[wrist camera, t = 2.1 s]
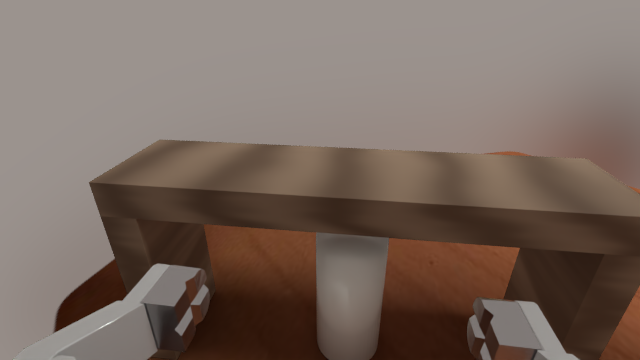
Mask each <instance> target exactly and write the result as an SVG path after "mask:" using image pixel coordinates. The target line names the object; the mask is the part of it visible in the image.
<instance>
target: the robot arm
mask: <svg viewBox="0 0 640 360" xmlns="http://www.w3.org/2000/svg"><path fill="white" fill-rule="evenodd" d="M206 279H207V277H206V273H205V270H203V269H200V268H192V267H185V266H177V265H166V264H159V263H158V264H155V265H153V266H152V267H151V268H150V270H149V271H148V272H147V273H146V274H145V275H144V277H143V278H142V279H141V280H140V281H139V282H138V283H137V285H136V286H135V287H134V288H133V289H132V290H131V291H130V293H129V294H128V295H127V296H126V297H125V298H124V299H123V301H116V302H114V303H112V304H110V305H108V306H106V307H104V308H102V309H100V310H98V311H96V312H94V313H92V314H90V315H88V316H86V317H84V318H83V319H81V320H79V321H77V322H75V323H73V324H71V325H69V326H67V327H65V328H63V329H61V330H59V331H57V332H55V333H53V334H51V335H49V336H47V337H46V338H44V339H42V340H40V341H38V342H36V343H34V344H32V345H30V346H28V347H26V348H24V349H23V350H22V351H21V352H20V353H19V354H18V355H17V356H16V357H15V358H14V359H13V360H147V359H148V358H149V357H151V356H152V355H153V354H154V353H156V352H157V351H158V350H157V349H161V350H171V351H181V352H186V350H187V348H188V346H189V344H190V343H191V341H192V339H193V337H194V335H195V334H196V330H195V325H197V324H198V323H200V322H201V321H203V319H204V317H205V315H206V313H207V310H208V306H209V301H210V294H209V289H208V288H207V287H206V286H205V285H204V283H205V281H206ZM473 309H474V312H475V315H473V316H472V317H470V318H469V322H468V326H467V340H468V345H469V349H470V352H471V354H472V355H473V356H474V357H475V358H476V359H477V360H579V359H578V358H577V357H575V356H574V355H573V354H566V352H565V350H564V348H563V347H562V345H561V343H560V342H559V340H558V338H557V337H556V335H555V333H554V332H553V330H552V328H551V327H550V325H549V323H548V322H547V320H546V318H545V316H544V315H543V313H542V311H541V310H540V308H539V306H538V305H537V304H536V303H534V302H527V301H516V300H515V301H513V300H503V299H493V298H482V297H477V298H476V299H475V301H474V304H473Z"/></svg>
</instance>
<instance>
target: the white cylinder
mask: <svg viewBox="0 0 640 360" xmlns="http://www.w3.org/2000/svg"><path fill="white" fill-rule="evenodd" d="M388 245H389V238H384V237H371V236H358V235H344V234H331V233H318V232H317V234H316V287H317V343H318V346H319V349H320V351H321V352H322V354H323V355H324V356H325V357H326V358H327V359H329V360H369V359H371V358H372V356H373V355H374V354H375V352H376V349H377V346H378V337H379V328H380V319H381V309H382V300H383V291H384V282H385V272H386V263H387V254H388Z"/></svg>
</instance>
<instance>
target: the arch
mask: <svg viewBox="0 0 640 360" xmlns="http://www.w3.org/2000/svg"><path fill="white" fill-rule="evenodd" d="M89 184H90V187H91V190H92V193H93V195H94V199H95V201H96V204H97V207H98V210H99V213H100V216H101V219H102V222H103V225H104V228H105V230H106V233H107V236H108V239H109V242H110V245H111V248H112V251H113V254H114V256H115V259H116V262H117V265H118V268H119V271H120V274H121V277H122V280H123V283H124V286H125V288H126V291H127V294H129V293H130V291H131V290H132V289H133V288H134V287H135V286H136V285H137V283H138V282H139V281H140V280H141V279H142V278H143V277H144V275H145V274H146V273H147V272H148V271H149V270H150V268H151V267H152V266H153V265H155V264H158V263H159V264H166V265H177V266H185V267H192V268H200V269H203V270H205V273H206V277H207V279H206V281H205V283H204V285H205V286H206V287H207V288H208V289H209V294H210V300H211V298H212V296H213V294H214V292H215V291H216V289H215V284H214V278H213V273H212V268H211V262H210V257H209V252H208V246H207V241H206V236H205V230H204V225H203V224H211V225H224V226H238V227H251V228H264V229H278V230H291V231H304V232H318V233H331V234H344V235H358V236H371V237H384V238H398V239H411V240H424V241H438V242H451V243H464V244H478V245H491V246H504V247H518V248H520V250H519V253H518V256H517V259H516V262H515V265H514V269H513V272H512V275H511V278H510V281H509V284H508V287H507V290H506V293H505V296H504V299H503V300H513V301H515V300H516V301H527V302H534V303H536V304H537V305H538V306H539V308H540V310H541V311H542V313H543V315H544V316H545V318H546V320H547V322H548V323H549V325H550V327H551V328H552V330H553V332H554V333H555V335H556V337H557V338H558V340H559V342H560V343H561V345H562V347H563V348H564V350H565V352H566V354H573V355H574V356H575V357H577V358H578V359H579V360H599V358H600V356H601V354H602V352H603V351H604V349H605V347H606V345H607V343H608V342H609V340H610V338H611V336H612V334H613V333H614V331H615V329H616V327H617V325H618V324H619V322H620V320H621V318H622V316H623V315H624V313H625V311H626V309H627V307H628V305H629V304H630V302H631V300H632V298H633V296H634V295H635V293H636V291H637V289H638V287H639V286H640V194H639V193H637V192H636V191H634V190H633V189H631V188H630V187H628V186H627V185H625V184H624V183H622V182H621V181H619V180H617V179H616V178H615V177H613V176H612V175H610V174H609V173H607V172H605V171H604V170H603V169H601V168H600V167H598V166H597V165H595V164H594V163H592V162H591V161H589V160H588V159H580V158H559V157H557V158H556V157H537V156H514V155H492V154H469V153H468V154H467V153H446V152H423V151H402V150H378V149H357V148H335V147H310V146H289V145H267V144H244V143H222V142H200V141H175V140H159V141H157V142H155V143H153V144H152V145H150V146H148V147H147V148H145V149H143V150H142V151H140V152H138V153H137V154H135V155H134V156H132V157H130V158H129V159H127V160H125V161H124V162H122V163H120V164H119V165H117V166H115V167H114V168H112V169H110V170H109V171H107V172H105V173H104V174H102V175H101V176H99V177H97V178H95V179H94V180H92V181H91V182H89ZM195 327H196V325H195ZM157 350H158V351H157V352H156V353H154V354H153V355H152V356H151V357H156V358H164V359H172V360H177V359H178V357H179V355H180V354H181V351H171V350H161V349H157Z"/></svg>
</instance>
